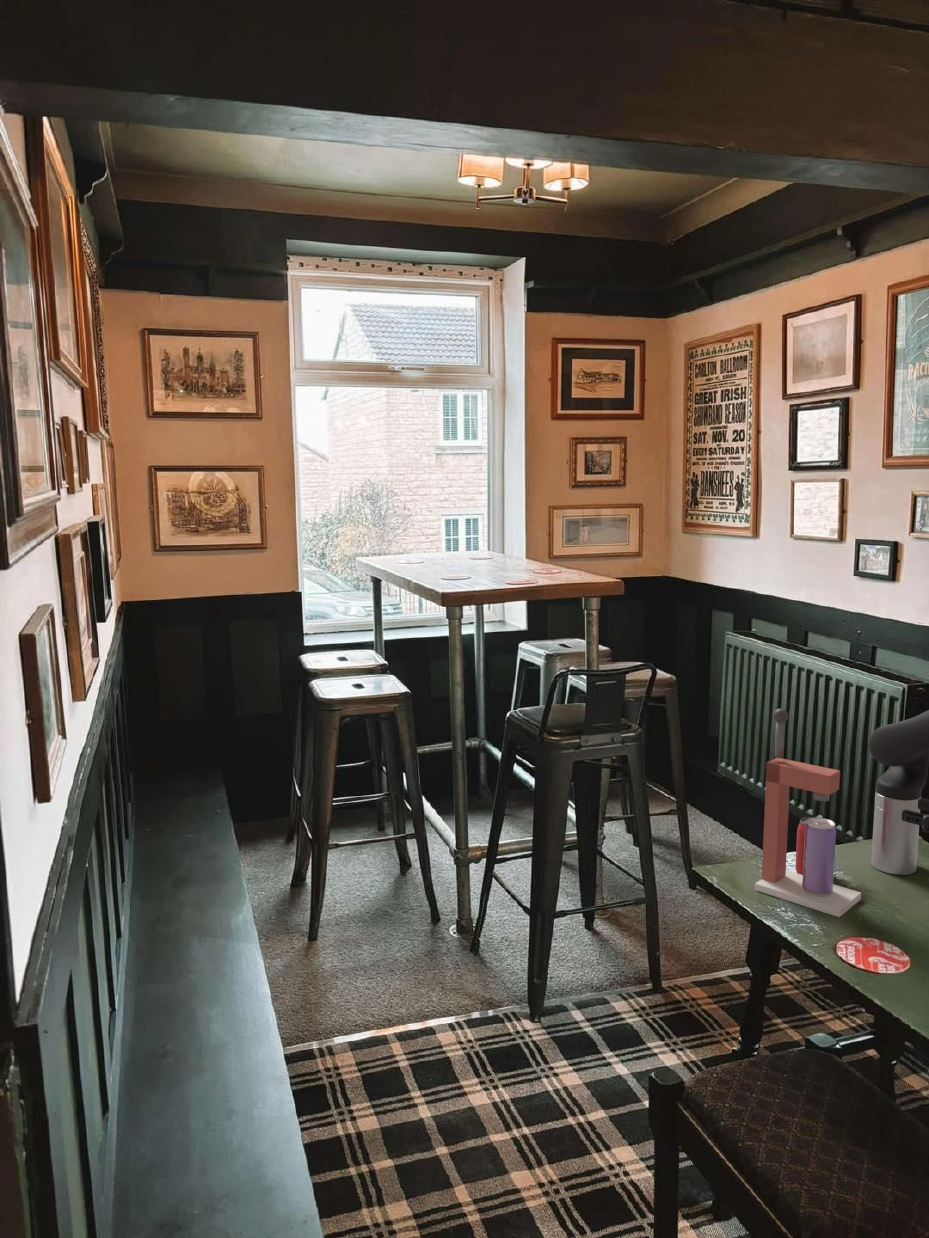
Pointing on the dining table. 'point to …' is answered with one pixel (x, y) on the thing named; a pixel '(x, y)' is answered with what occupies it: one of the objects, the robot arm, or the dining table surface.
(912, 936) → the dining table surface
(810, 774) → the bench press
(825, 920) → the dining table surface
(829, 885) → the beverage can
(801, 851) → the beer can
